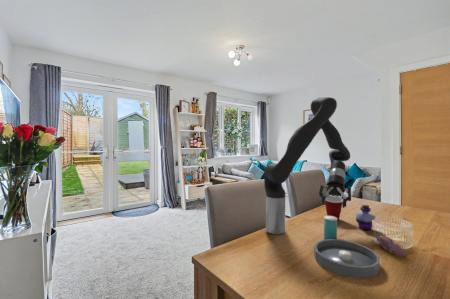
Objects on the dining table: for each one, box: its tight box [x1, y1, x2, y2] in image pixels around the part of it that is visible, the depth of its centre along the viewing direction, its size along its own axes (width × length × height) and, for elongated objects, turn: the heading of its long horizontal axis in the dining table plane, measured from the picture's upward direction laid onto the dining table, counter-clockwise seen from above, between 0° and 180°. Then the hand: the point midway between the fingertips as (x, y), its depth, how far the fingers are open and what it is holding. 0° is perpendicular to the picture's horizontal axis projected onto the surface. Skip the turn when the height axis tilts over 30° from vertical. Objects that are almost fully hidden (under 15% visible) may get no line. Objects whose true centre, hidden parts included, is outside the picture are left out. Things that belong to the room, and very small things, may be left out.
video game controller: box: [375, 235, 408, 258], centre depth 89 cm, size 10×5×7 cm, turn 5°
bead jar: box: [323, 215, 338, 240], centre depth 100 cm, size 5×5×10 cm
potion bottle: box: [355, 204, 376, 232], centre depth 112 cm, size 9×9×12 cm
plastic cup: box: [324, 195, 343, 221], centre depth 126 cm, size 11×11×12 cm
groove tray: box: [313, 238, 380, 279], centre depth 82 cm, size 21×21×4 cm
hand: (333, 205), depth 107 cm, fingers open, 8 cm apart
